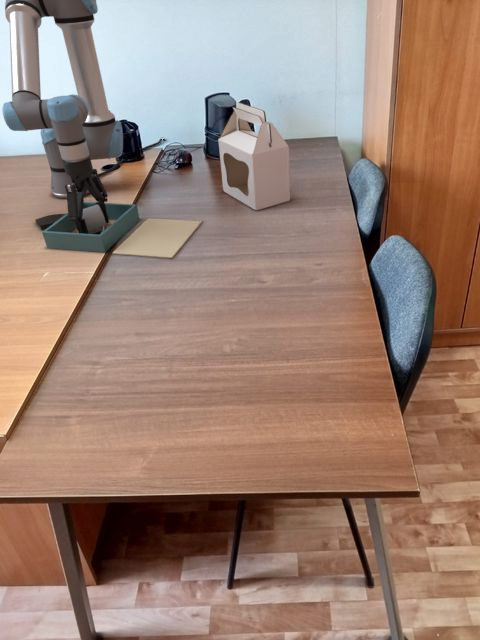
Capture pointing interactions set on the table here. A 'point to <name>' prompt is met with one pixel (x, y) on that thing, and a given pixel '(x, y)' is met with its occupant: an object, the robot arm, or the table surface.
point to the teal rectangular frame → (62, 239)
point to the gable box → (254, 160)
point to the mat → (158, 238)
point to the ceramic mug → (94, 219)
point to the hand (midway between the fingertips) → (95, 231)
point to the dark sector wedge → (48, 220)
